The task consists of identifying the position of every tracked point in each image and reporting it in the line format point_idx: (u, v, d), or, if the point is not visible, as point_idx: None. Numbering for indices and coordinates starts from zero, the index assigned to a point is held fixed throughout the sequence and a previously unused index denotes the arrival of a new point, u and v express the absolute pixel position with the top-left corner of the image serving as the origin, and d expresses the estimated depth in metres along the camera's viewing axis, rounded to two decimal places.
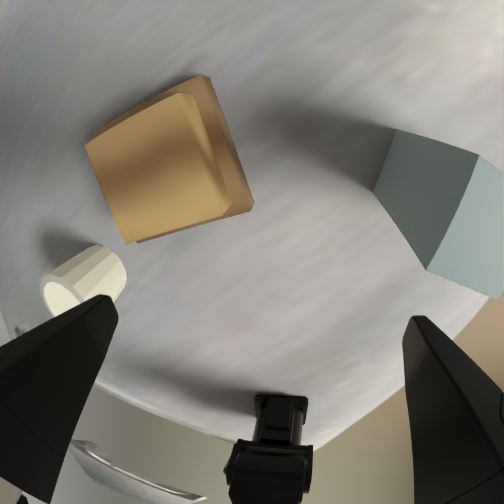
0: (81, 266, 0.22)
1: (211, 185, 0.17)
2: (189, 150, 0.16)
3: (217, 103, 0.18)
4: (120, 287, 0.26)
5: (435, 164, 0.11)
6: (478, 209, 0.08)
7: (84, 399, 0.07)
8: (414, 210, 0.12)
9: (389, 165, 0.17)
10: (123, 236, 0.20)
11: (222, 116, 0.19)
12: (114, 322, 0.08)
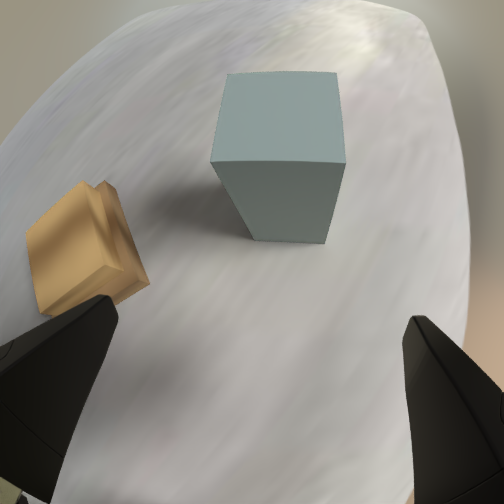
0: None
1: (98, 241, 0.18)
2: (85, 217, 0.19)
3: (118, 204, 0.23)
4: None
5: None
6: (243, 99, 0.11)
7: (84, 399, 0.07)
8: None
9: None
10: (39, 306, 0.18)
11: (121, 213, 0.23)
12: (114, 322, 0.08)
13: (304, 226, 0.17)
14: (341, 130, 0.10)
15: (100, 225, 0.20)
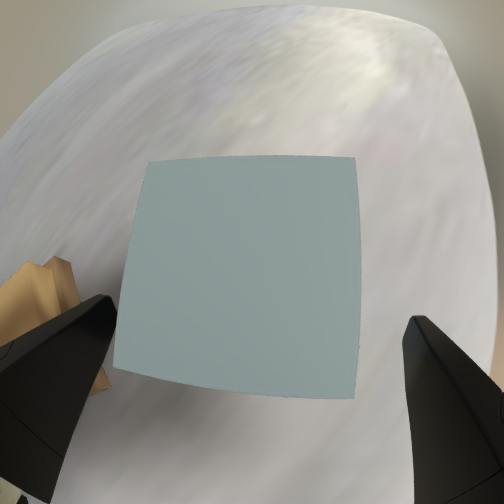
0: None
1: None
2: (31, 312, 0.14)
3: (72, 285, 0.18)
4: None
5: None
6: (167, 230, 0.06)
7: (84, 399, 0.07)
8: None
9: None
10: None
11: (76, 297, 0.18)
12: (114, 322, 0.08)
13: None
14: (356, 320, 0.05)
15: None
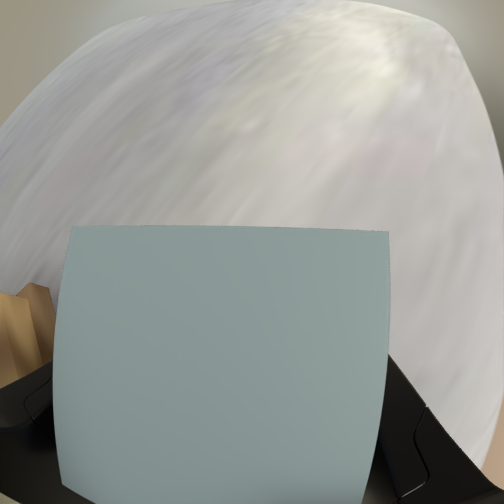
0: None
1: None
2: (7, 350, 0.11)
3: (49, 314, 0.16)
4: None
5: None
6: (94, 343, 0.04)
7: None
8: None
9: None
10: None
11: (54, 327, 0.16)
12: None
13: None
14: (360, 489, 0.03)
15: (26, 359, 0.12)
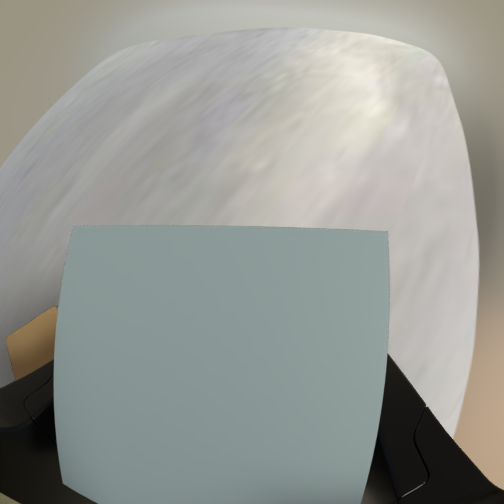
0: None
1: None
2: None
3: None
4: None
5: None
6: (95, 342, 0.04)
7: None
8: None
9: None
10: None
11: None
12: None
13: None
14: (359, 488, 0.03)
15: None
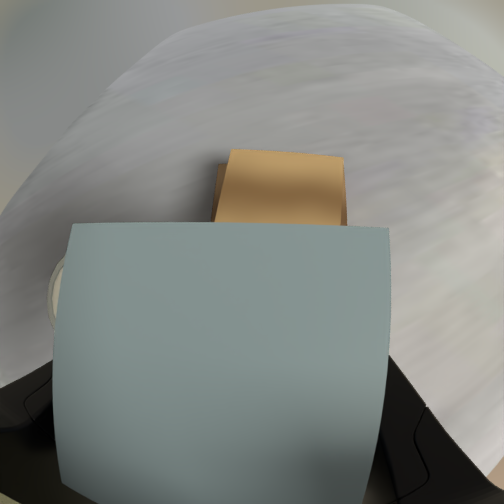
0: None
1: None
2: (333, 202, 0.18)
3: None
4: None
5: None
6: (94, 340, 0.04)
7: None
8: None
9: None
10: None
11: None
12: None
13: None
14: (361, 487, 0.03)
15: None
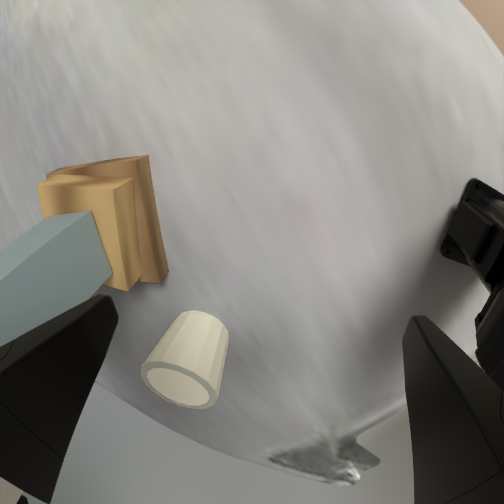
0: (156, 345, 0.23)
1: (91, 187, 0.17)
2: (66, 193, 0.17)
3: (71, 166, 0.20)
4: (210, 326, 0.25)
5: None
6: None
7: (85, 398, 0.07)
8: None
9: None
10: (121, 288, 0.20)
11: (80, 165, 0.20)
12: (114, 322, 0.08)
13: (64, 257, 0.15)
14: None
15: (81, 181, 0.18)
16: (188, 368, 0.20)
